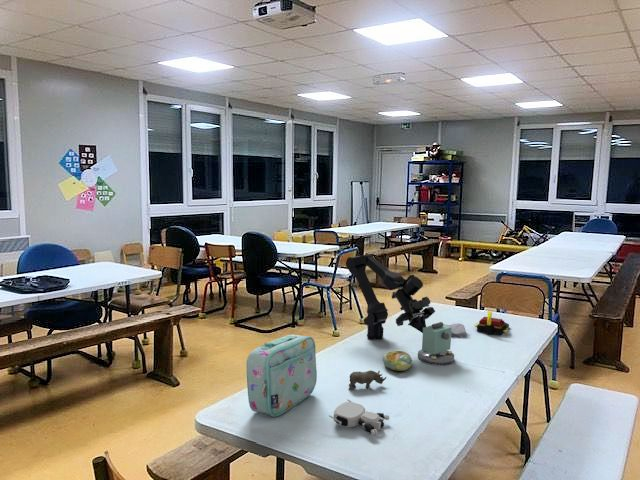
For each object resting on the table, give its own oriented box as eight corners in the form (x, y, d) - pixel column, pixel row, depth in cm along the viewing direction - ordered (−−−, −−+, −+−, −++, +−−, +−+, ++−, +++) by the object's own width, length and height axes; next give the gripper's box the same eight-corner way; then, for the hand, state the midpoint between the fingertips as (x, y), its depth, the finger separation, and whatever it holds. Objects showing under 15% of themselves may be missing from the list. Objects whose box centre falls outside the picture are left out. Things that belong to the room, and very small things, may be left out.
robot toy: (390, 425, 149) (345, 410, 156) (392, 411, 148) (346, 396, 155) (374, 444, 138) (326, 427, 145) (376, 429, 137) (327, 412, 144)
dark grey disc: (410, 357, 202) (410, 350, 201) (433, 350, 210) (433, 343, 210) (438, 368, 191) (439, 361, 190) (461, 360, 199) (461, 353, 199)
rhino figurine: (388, 388, 173) (389, 371, 172) (349, 391, 170) (350, 374, 169) (384, 383, 177) (384, 366, 176) (346, 386, 174) (346, 370, 173)
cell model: (414, 354, 198) (414, 353, 184) (408, 374, 197) (408, 374, 182) (387, 346, 201) (385, 344, 186) (381, 366, 199) (379, 365, 185)
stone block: (467, 341, 228) (463, 330, 238) (468, 331, 227) (463, 321, 236) (440, 341, 230) (437, 330, 239) (441, 331, 228) (437, 321, 237)
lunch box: (270, 425, 146) (270, 354, 143) (243, 416, 151) (242, 347, 149) (319, 392, 168) (320, 330, 166) (294, 385, 174) (294, 325, 171)
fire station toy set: (471, 333, 235) (472, 309, 234) (483, 322, 252) (484, 301, 251) (504, 338, 228) (505, 314, 226) (513, 327, 244) (514, 305, 243)
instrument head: (421, 350, 199) (423, 323, 198) (438, 344, 205) (439, 319, 204) (438, 356, 193) (439, 328, 192) (454, 350, 199) (456, 324, 198)
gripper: (402, 294, 199) (422, 328, 192) (432, 287, 211) (453, 319, 204) (386, 309, 207) (406, 342, 199) (417, 302, 218) (436, 333, 211)
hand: (426, 334), depth 203 cm, fingers closed
